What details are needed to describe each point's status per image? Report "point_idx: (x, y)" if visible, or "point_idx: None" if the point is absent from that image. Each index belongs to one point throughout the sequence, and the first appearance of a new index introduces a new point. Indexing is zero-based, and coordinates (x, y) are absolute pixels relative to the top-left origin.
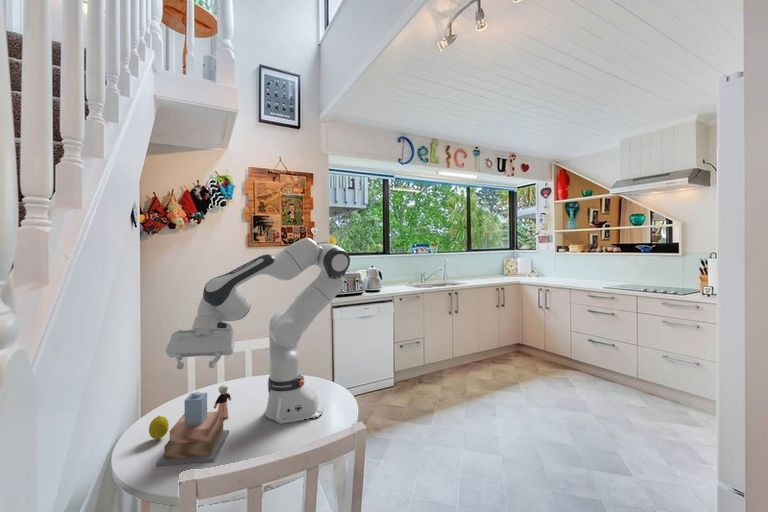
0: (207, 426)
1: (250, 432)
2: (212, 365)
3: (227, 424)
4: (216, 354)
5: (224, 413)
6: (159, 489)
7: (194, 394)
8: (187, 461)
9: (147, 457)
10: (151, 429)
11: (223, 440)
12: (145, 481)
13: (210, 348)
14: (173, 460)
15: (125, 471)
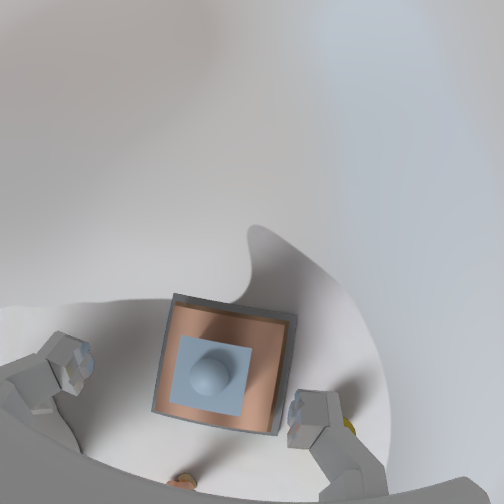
0: (178, 320)
1: (105, 389)
2: (63, 334)
3: (163, 452)
4: (2, 385)
5: (172, 485)
6: (266, 235)
7: (215, 373)
8: (231, 304)
9: (325, 356)
10: (346, 419)
11: (159, 364)
12: (300, 268)
13: (7, 440)
14: (262, 313)
15: (351, 313)
